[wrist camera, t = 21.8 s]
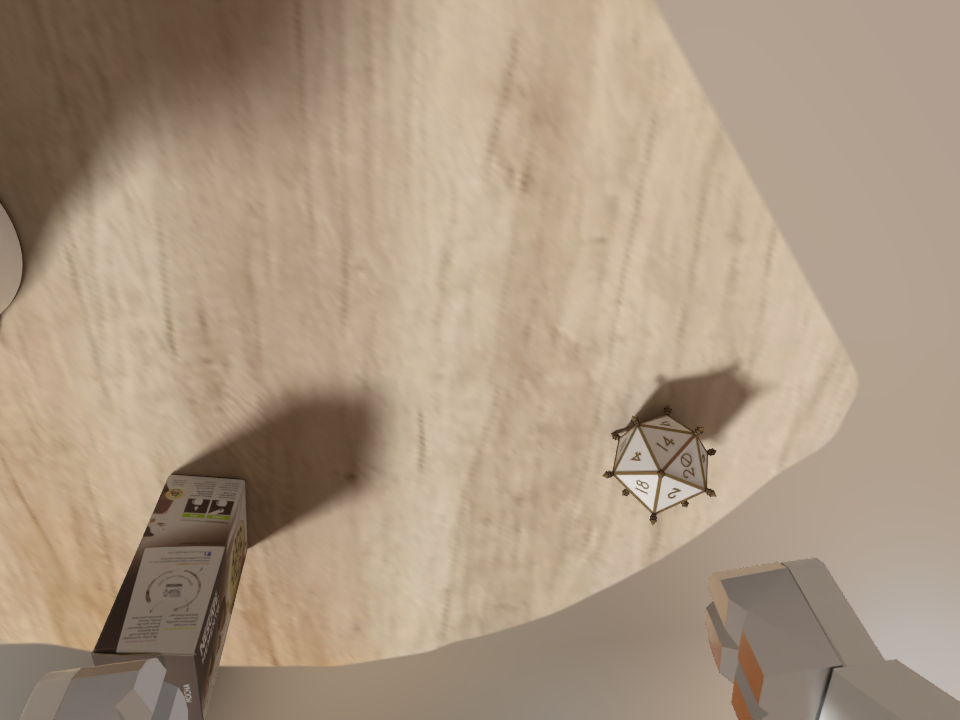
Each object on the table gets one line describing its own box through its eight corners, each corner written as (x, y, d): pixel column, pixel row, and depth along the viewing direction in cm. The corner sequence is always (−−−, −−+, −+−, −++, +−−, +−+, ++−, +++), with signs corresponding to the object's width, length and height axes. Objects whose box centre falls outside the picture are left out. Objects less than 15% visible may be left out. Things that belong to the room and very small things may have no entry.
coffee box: (165, 472, 56) (87, 652, 43) (247, 477, 57) (196, 654, 44) (174, 548, 61) (107, 730, 48) (249, 551, 62) (204, 731, 49)
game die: (618, 394, 60) (610, 405, 50) (719, 409, 58) (732, 423, 48) (603, 494, 61) (593, 523, 51) (704, 513, 58) (713, 547, 49)
